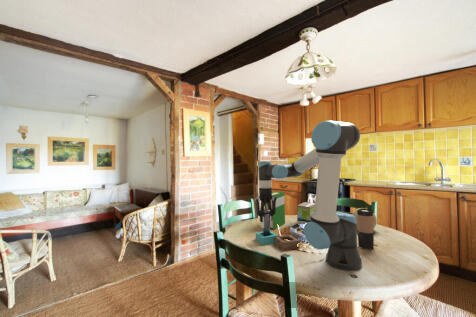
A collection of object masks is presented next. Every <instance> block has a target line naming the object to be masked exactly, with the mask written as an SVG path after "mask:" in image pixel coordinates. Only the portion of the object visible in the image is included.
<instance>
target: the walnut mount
mask: <svg viewBox="0 0 476 317" xmlns="http://www.w3.org/2000/svg"><path fill="white" fill-rule="evenodd" d="M284 239H288V240H290V241H284ZM298 243H300V244H301V240H300V239H298V238H297V237H295V236H293V235H292V234H284V235H278V236H277V237H275V243H274V245H275V246H277V247H278V248H279V249H281V250H282V251H292V250H295V249H298V248H297V244H298Z"/></svg>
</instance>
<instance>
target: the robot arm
mask: <svg viewBox="0 0 476 317" xmlns="http://www.w3.org/2000/svg"><path fill="white" fill-rule="evenodd" d="M310 136H311V137H310V138H311V143H312V145H313V146H314V149H312V150H310V151H309V152H307V153H305V154H304V155H303V156H301V157H299V158H298V159H297V160H295V161H294V162H291V163H285V164H284V163H283V164H280V163H279V164H272V161H270V160H262V161H261V160H260V161H259V162H258V169H257V170H258V197H257V198H254V202H255V211H256V212H255V214H256V216H258V217H259V222H260V227H261V228H262V229H263V228H264V216H263V211H264V209H265V203H267V206H268V209H269V210H270V212H269V214H270V227H272V224H271V221H272V220H273V215H274V214H276V199H277V198H276V197H273V196H272V192H273V188H272V186H273V184H272V182H273V179H277V180H281V179H282V180H283V179H285V178H297V177H301V176H303V174H304V172H306V171H308V170H310V169H312V168H314V167H315V166H317V165H318V166H317V179H316V180H317V181H316V191H315V193H316V194H315V202H314V203H315V211H314V212H312V213H311V218H310V222H308V223H307V224H306V225H305V226H303V234H304V238H305V240H307V242H308V244H309V245H310V246H311V247H313V248H314V249H316V250H320V251H321V250H325V249H327V253H326V255H325V261H326V263H327V264H328V265H329V266H331V267H333V268H336V269H339V270H344V271H357V270H360V269H361V268H362V266H363V260H362V257H361V255H360V253H359V249H358V228H357V223H356V217H355V216H354V215H352V213H349V212H348V213H346V212H339V211H337V207H338V196H339V187H340V176H341V167H342V166H341V165H342V159H343V158H344V157H345V156H346V155H347V151H349V150H351V149H352V148H354V147H356V145H357V144H358V143H359V141H360V139H361V133H360V130H359V128H358V127H357V126H356V125H355V124H354V123H351V122H348V121H341V120H340V121H338V120H323V121H321V122H318V124H316V125H315V127H314V128H313V130H312V132H311V135H310ZM271 199H272V208H271Z"/></svg>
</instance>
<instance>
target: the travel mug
mask: <svg viewBox="0 0 476 317" xmlns="http://www.w3.org/2000/svg"><path fill="white" fill-rule="evenodd" d="M358 209H359V208H358ZM373 213H374V210H372V209H369V208H367V209H366V208H364V209H359V210H357V223H358V228H357V245H358V247H359V248H361V249H364V250H373V249H374V248H375V246H374V245H375V244H374V243H375V242H374V241H375V238H374V237H375V234H374V233H375V232H374V231H375V227H374V225H373Z"/></svg>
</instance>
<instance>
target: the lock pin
mask: <svg viewBox="0 0 476 317" xmlns="http://www.w3.org/2000/svg"><path fill="white" fill-rule="evenodd" d="M269 212H270V210H269V209H265V208H264V211H263V216H264V228H262V232H263V236H270V231H271V228H270V215H269Z"/></svg>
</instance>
